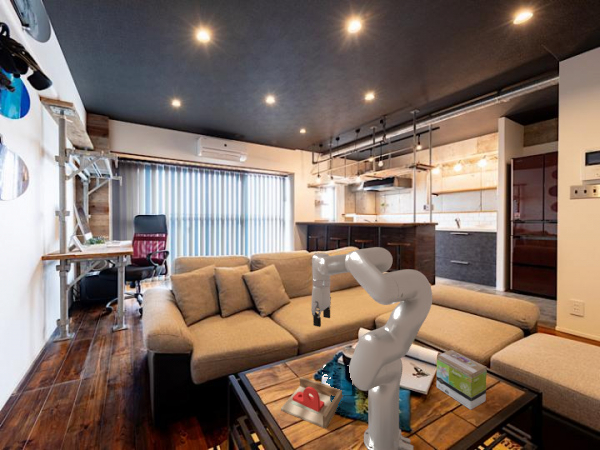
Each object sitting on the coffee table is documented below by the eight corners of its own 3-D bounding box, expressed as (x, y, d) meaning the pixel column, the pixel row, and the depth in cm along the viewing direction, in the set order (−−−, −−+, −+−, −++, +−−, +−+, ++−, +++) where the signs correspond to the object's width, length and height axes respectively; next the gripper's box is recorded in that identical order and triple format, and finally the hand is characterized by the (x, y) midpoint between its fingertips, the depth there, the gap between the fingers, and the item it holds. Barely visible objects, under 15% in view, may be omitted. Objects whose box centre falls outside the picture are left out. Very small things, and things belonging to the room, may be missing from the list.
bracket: (324, 404, 108) (324, 385, 107) (318, 412, 104) (318, 392, 104) (299, 393, 115) (298, 375, 114) (292, 400, 111) (292, 381, 110)
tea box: (435, 388, 117) (435, 354, 116) (450, 380, 122) (451, 348, 121) (471, 411, 104) (472, 373, 103) (486, 402, 109) (487, 365, 108)
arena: (342, 400, 111) (342, 390, 111) (326, 428, 97) (325, 417, 97) (301, 386, 121) (300, 376, 120) (280, 410, 107) (280, 399, 106)
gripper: (322, 276, 128) (322, 313, 129) (303, 286, 113) (304, 327, 114) (337, 278, 124) (337, 316, 125) (320, 289, 109) (321, 331, 110)
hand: (322, 321), depth 119 cm, fingers open, 9 cm apart
